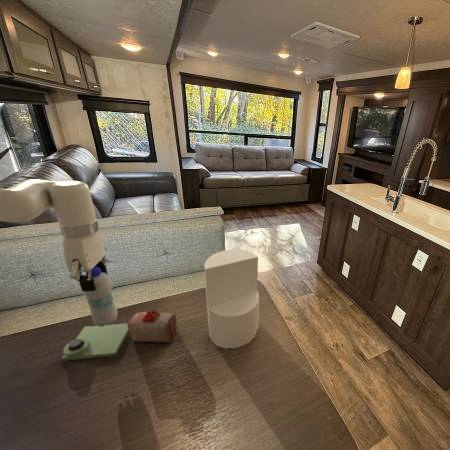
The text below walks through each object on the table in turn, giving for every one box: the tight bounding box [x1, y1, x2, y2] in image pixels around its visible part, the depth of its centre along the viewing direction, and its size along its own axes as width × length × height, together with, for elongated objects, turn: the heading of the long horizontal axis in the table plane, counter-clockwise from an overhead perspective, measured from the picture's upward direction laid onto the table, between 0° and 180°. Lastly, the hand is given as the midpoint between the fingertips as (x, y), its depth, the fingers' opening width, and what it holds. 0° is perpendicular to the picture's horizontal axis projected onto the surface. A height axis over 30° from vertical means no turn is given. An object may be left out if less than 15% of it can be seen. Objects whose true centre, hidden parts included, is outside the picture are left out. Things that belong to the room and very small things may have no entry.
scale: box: [61, 322, 130, 362], centre depth 79 cm, size 14×12×3 cm
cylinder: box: [203, 249, 260, 349], centre depth 84 cm, size 17×17×28 cm
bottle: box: [82, 267, 118, 327], centre depth 75 cm, size 7×7×20 cm
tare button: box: [69, 338, 83, 351], centre depth 74 cm, size 3×3×2 cm
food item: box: [126, 307, 178, 344], centre depth 82 cm, size 14×8×10 cm, turn 92°
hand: (95, 282), depth 73 cm, fingers closed on bottle, 6 cm apart
